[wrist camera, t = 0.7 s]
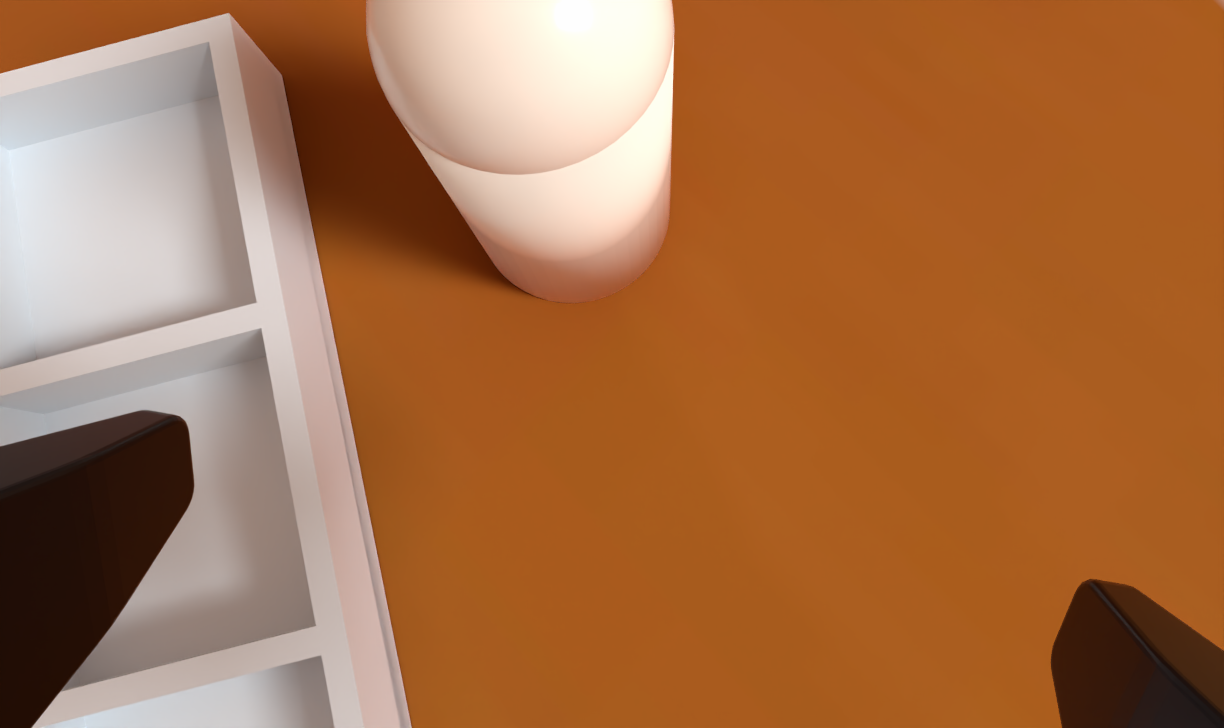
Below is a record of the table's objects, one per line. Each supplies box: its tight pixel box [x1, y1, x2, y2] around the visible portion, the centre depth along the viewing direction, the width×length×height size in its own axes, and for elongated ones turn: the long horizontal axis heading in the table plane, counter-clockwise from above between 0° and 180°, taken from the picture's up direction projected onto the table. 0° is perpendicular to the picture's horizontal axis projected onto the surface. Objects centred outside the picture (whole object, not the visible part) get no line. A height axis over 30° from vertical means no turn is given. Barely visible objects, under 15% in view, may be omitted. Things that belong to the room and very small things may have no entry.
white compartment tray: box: [0, 13, 412, 728], centre depth 21 cm, size 22×8×3 cm, turn 14°
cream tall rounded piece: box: [366, 0, 674, 303], centre depth 18 cm, size 5×5×11 cm
